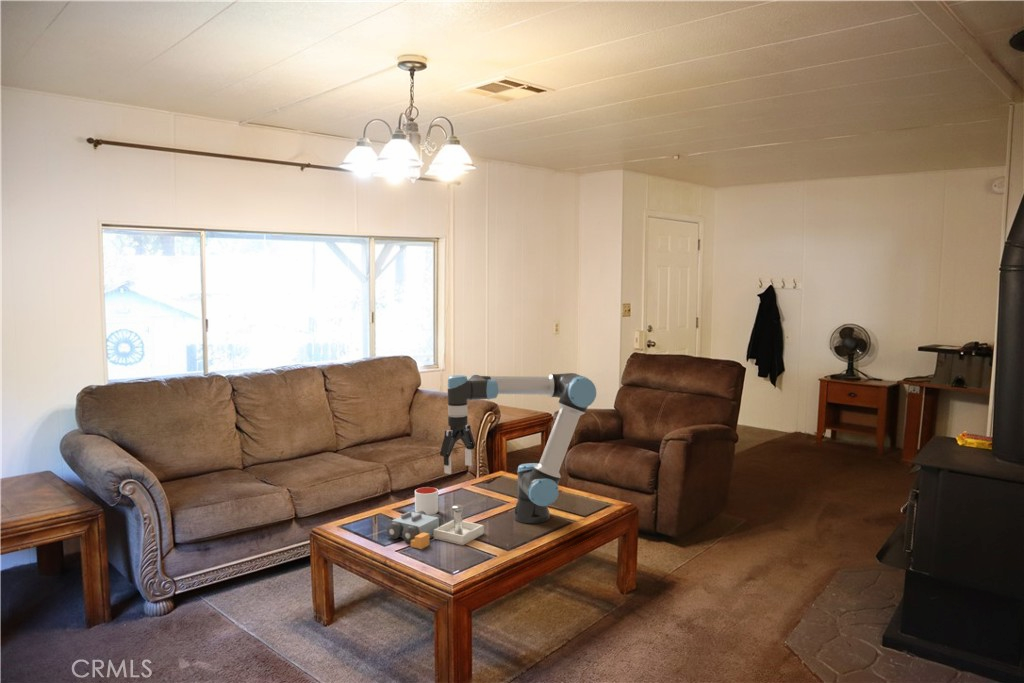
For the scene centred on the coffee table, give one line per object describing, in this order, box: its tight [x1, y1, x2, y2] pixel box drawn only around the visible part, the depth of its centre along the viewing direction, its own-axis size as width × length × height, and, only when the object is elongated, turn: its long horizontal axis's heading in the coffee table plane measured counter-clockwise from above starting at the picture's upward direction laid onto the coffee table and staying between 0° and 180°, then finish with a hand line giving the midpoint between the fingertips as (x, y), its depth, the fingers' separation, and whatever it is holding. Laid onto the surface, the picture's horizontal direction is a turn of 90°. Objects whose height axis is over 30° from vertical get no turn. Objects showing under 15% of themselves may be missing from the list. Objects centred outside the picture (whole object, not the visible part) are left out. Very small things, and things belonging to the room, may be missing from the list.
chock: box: [410, 532, 431, 550], centre depth 255 cm, size 5×5×4 cm
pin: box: [451, 504, 465, 535], centre depth 265 cm, size 5×5×11 cm
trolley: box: [386, 511, 445, 544], centre depth 267 cm, size 14×19×8 cm
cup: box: [414, 486, 439, 516], centre depth 292 cm, size 10×10×10 cm
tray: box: [433, 519, 485, 546], centre depth 265 cm, size 14×14×3 cm
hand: (458, 469), depth 263 cm, fingers open, 13 cm apart
